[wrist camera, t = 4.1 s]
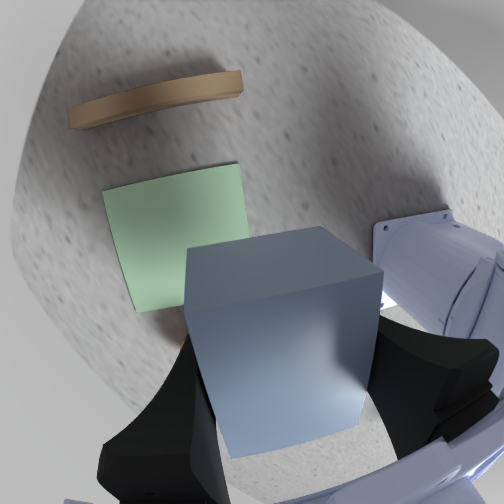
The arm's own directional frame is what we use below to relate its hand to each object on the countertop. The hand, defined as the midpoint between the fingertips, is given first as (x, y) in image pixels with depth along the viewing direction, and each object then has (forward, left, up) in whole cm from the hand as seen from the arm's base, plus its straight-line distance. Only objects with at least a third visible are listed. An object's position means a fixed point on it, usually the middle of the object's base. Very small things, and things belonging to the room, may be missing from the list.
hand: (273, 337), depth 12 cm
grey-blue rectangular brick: (0, 0, -2) cm, 2 cm away
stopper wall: (+4, -12, -9) cm, 15 cm away
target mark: (+4, -2, -9) cm, 10 cm away
